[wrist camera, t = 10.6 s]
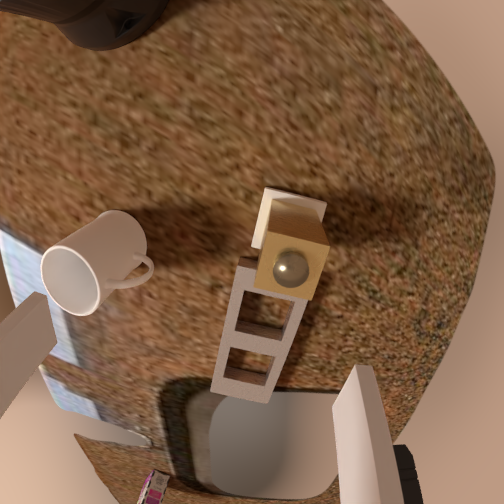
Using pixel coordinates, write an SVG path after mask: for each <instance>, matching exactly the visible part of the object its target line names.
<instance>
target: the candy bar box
mask: <svg viewBox="0 0 504 504" xmlns="http://www.w3.org/2000/svg"><path fill="white" fill-rule="evenodd" d="M169 478H170V476H169V475H167V474H164V473H162V472H160V471H157V470H155V469H154V470H153V471H152V472H151V474H150V475H149V476H148V478H147V479H146V480H145V483H144V486H143V488H142V491H141V494H140V497H139V500H138V502H137V504H161V503H162V500H163V497H164V494H165V491H166V487H167V484H168V481H169Z"/></svg>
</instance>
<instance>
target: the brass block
mask: <svg viewBox="0 0 504 504" xmlns="http://www.w3.org/2000/svg"><path fill="white" fill-rule="evenodd" d="M329 249H330V244H329V242H328V239H327V237H326V234H325V231H324V229H323V226H322V224H321V221H320V219H319V216H318V214H317V211H316V210H314V209H310V208H306V207H302V206H299V205H295V204H291V203H287V202H283V201H279V200H275V199H272V200H271V204H270V208H269V212H268V216H267V221H266V225H265V229H264V233H263V237H262V241H261V246H260V252H259V258H258V263H257V269H256V274H255V280H254V285H253V287H254V288H258V289H263V290H267V291H271V292H275V293H280V294H284V295H289V296H293V297H297V298H302V299H306V300H311V301H312V298H313V295H314V292H315V290H316V287H317V284H318V281H319V278H320V275H321V272H322V270H323V267H324V264H325V261H326V258H327V255H328V252H329Z"/></svg>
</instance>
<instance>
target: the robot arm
mask: <svg viewBox="0 0 504 504" xmlns="http://www.w3.org/2000/svg"><path fill="white" fill-rule="evenodd" d="M168 1H169V0H0V11H4V12H9V13H14V14H19V15H23V16H27V17H32V18H36V19H40V20H43V21H47V22H51V23H54V24H55V25H56V26H57V27H58V29H59V30H60V31H61V32H62V33H63V34H64V35H65V36H66V37H67V38H68V39H69V40H70V41H71V42H72V43H74V44H76V45H77V46H80V47H83V48H87V49H90V50H96V51H104V50H111V49H114V48H118V47H120V46H123V45H125V44H127V43H129V42H131V41H133V40H134V39H136V38H137V37H139V36H140V35H141V34H143V33H144V32H145V31H146V30H147V29H148V28H150V27H151V26H152V25H153V23H154V22H155V21H156V20H157V19H158V18H159V16H160V15H161V13H162V12H163V10H164V9H165V7H166V5H167V3H168ZM56 344H57V339H56V335H55V331H54V327H53V323H52V319H51V314H50V310H49V305H48V300H47V296H46V295H43V294H41V293H38V292H35V291H34V292H33V293H32V294H31V295H30V296H29V297H28V298H27V299H25V300H24V301H23V302H22V303H21V304H20V305H19V306H18V307H17V308H16V309H15V310H14V311H13V312H12V313H11V314H9V315H8V316H7V317H6V319H4V320H3V321H2V322H1V323H0V418H1V417H2V416H3V414H4V413H5V411H6V410H7V408H8V407H9V406H10V404H11V403H12V401H13V400H14V399H15V397H16V396H17V394H18V393H19V391H20V390H21V389H22V388H23V386H24V385H25V384H26V382H27V381H28V380H29V378H30V377H31V376H32V374H33V373H34V372H35V370H36V369H37V368H38V366H39V365H40V364H41V363H42V361H43V360H44V359H45V357H46V356H47V355H48V354H49V352H50V351H51V350H52V349H53V347H54V346H55V345H56ZM332 411H333V419H334V428H335V438H336V447H337V460H338V471H339V484H340V498H341V504H423V499H422V494H421V489H420V485H419V480H417V478H418V476H417V472H416V470H415V468H416V467H415V463H414V459H413V455H412V454H411V453H410V451H409V450H408V448H407V447H406V445H392V441H391V436H390V432H389V428H388V424H387V420H386V416H385V412H384V408H383V404H382V400H381V396H380V393H379V389H378V385H377V382H376V378H375V374H374V371H373V367H372V366H365V365H354V367H353V369H352V371H351V373H350V375H349V377H348V379H347V381H346V383H345V384H344V386H343V388H342V390H341V392H340V394H339V396H338V398H337V399H336V401H335V403H334V404H333V406H332Z"/></svg>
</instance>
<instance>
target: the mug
mask: <svg viewBox="0 0 504 504" xmlns="http://www.w3.org/2000/svg"><path fill="white" fill-rule="evenodd" d="M146 251H147V241H146V237H145V234H144V231H143V229H142V227H141V226H140V224H139V223H138V222H137V221H136V220H135V219H134V218H133V217H132V216H131V215H129V214H127V213H125V212H123V211H119V210H110V211H106V212H104V213H102V214H101V215H100V216H98V217H97V219H96V220H94V221H92V222H91V223H89V224H87V225H86V226H84V227H82V228H81V229H79V230H77V231H76V232H74V233H73V234H71V235H69V236H68V237H66V238H65V239H63V240H61V241H60V242H58V243H57V244H55V245H54V246H52V247H51V248H49V249H48V250H47V251H46V252H45V254H44V255H43V258H42V261H41V276H42V280H43V283H44V286H45V288H46V290H47V292H48V293H49V295H50V296H51V298H52V299H53V300H54V301H55V302H56V303H57V304H58V305H59V306H60V307H61V308H62V309H64V310H65V311H67V312H69V313H71V314H74V315H78V316H86V315H89V314H91V313H93V312H94V311H95V310H96V309H97V308H98V307H99V306H100V305H101V304H102V302H103V301H104V300H105V299H106V298H107V297H108V296H109V295H110V294H111V292H112V291H113V290H114V289H121V288H129V287H134V286H137V285H140V284H142V283H144V282H146V281H147V280H148V279H150V277H151V276H152V275H153V272H154V264H153V262H152V260H151V259H150V258H149V257H147V256H146ZM142 262H143V263H145V264H146V265H148V267H149V271H148V272H147V273H146V274H144V275H142V276H140V277H138V278H134V279H129V280H123V279H124V278H125V277H126V276H127V275H128V274H129V273H130V272H131V271H132V270H133V269H135V268H137V267H138V266H139V265H140V264H141V263H142Z"/></svg>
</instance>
